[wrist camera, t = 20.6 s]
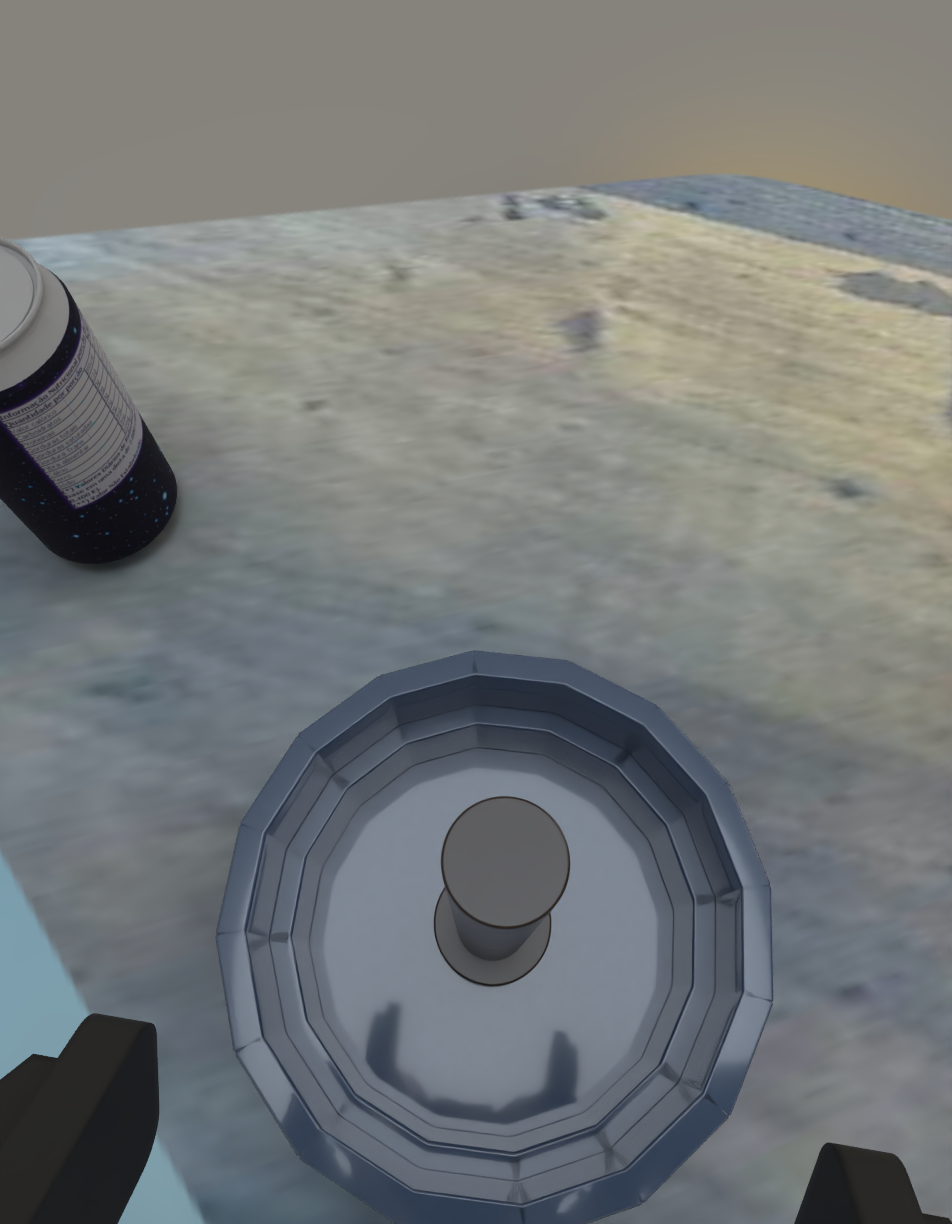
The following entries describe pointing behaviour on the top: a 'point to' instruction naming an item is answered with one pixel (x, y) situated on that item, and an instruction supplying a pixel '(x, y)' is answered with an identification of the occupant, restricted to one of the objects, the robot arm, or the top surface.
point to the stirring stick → (499, 889)
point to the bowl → (511, 1014)
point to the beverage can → (71, 427)
